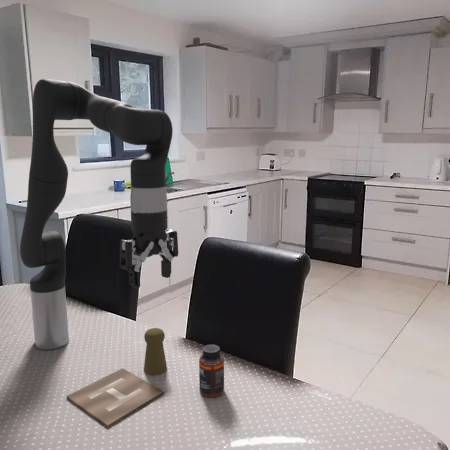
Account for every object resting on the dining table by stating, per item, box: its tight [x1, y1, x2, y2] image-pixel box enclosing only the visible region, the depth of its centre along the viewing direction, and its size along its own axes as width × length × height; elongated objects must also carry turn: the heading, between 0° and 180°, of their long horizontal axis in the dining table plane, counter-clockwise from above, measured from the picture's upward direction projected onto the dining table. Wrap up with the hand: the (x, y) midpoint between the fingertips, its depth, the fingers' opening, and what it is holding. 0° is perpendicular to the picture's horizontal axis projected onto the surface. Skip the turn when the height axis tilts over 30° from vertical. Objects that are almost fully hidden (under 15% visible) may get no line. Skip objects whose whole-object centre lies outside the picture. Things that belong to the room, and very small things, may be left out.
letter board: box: [66, 368, 165, 428], centre depth 102 cm, size 16×16×1 cm
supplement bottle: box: [198, 344, 225, 398], centre depth 103 cm, size 6×6×11 cm
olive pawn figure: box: [143, 327, 168, 376], centre depth 113 cm, size 6×6×11 cm
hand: (151, 281), depth 94 cm, fingers open, 8 cm apart
